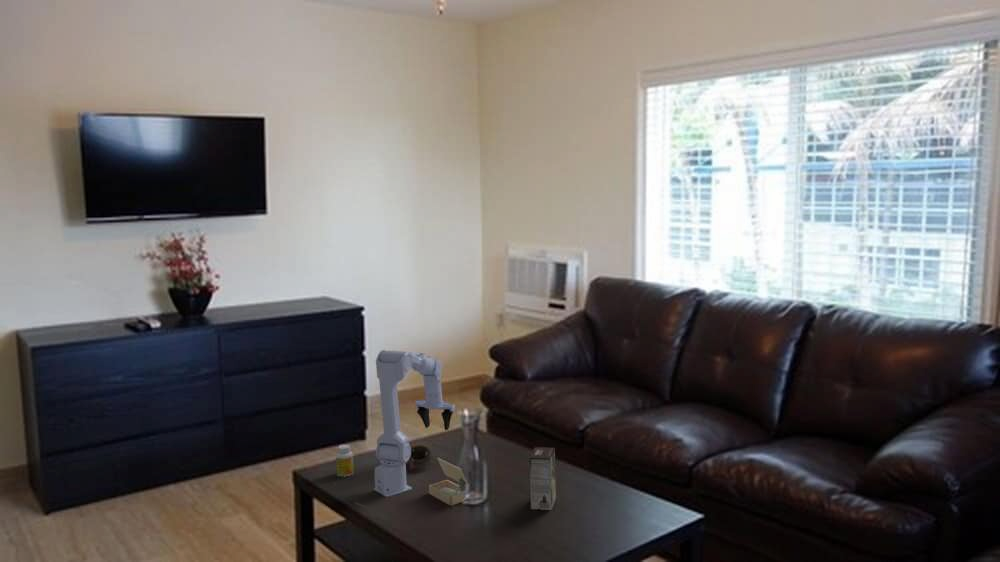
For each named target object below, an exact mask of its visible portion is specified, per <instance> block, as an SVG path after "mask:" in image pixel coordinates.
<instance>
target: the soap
mask: <svg viewBox="0 0 1000 562" xmlns="http://www.w3.org/2000/svg"><path fill="white" fill-rule="evenodd" d="M439 490H440V491H442V492H444V493H446V494H448V495H450V496H453V495H456V494H457V491H455V490H453V489H450V488H447V487H444V488H442V489H439Z"/></svg>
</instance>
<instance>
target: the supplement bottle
mask: <svg viewBox="0 0 1000 562" xmlns="http://www.w3.org/2000/svg"><path fill="white" fill-rule="evenodd" d="M337 450H338V452H337V453H336V471H337V472H336V473H337V474H336V475H337V476H338V477H339V476H344V477H343V478H346V477H345V476H349V477H351V476H350V475H352V476H353V475H354V474H353V473H354V471H355V469H354V467H355V466H354V455H353V451H351V445H350V444H340V445H338V447H337Z"/></svg>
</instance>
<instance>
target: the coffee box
mask: <svg viewBox="0 0 1000 562" xmlns="http://www.w3.org/2000/svg"><path fill="white" fill-rule="evenodd" d="M529 476H530V477H529V479H530V481H529V482H530V484H529V485H530V509H531V510H538V509H540V510H542V511H552V510H553V507H554V504H555V502H556V498H557V495H556V494H557V493H556V491H557V490H556V486H557V485H556V448H555V447H539V446H538V447H537V446H536V447H534V448H533V450H532V452H531V455H530V457H529Z"/></svg>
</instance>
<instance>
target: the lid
mask: <svg viewBox="0 0 1000 562" xmlns="http://www.w3.org/2000/svg"><path fill="white" fill-rule="evenodd" d="M437 461H438V463H439V465H440V467H441V469H442V471H443V473H444V475H445V476H446V477H449V478H450V479H452V480H455V481H456V482H458V483H460V482H459V479H460V478H462V479H463V480H464V481H465V482H466V484H467V485H468V484H469V482H468V480H467V478H466V476H465V473H464V472H463V469H462V468H460V467H459V466H456V465H454V464H452V463H450V462H449V461H446V460H444V459H442V458H440V457H437ZM467 482H468V483H467Z"/></svg>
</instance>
